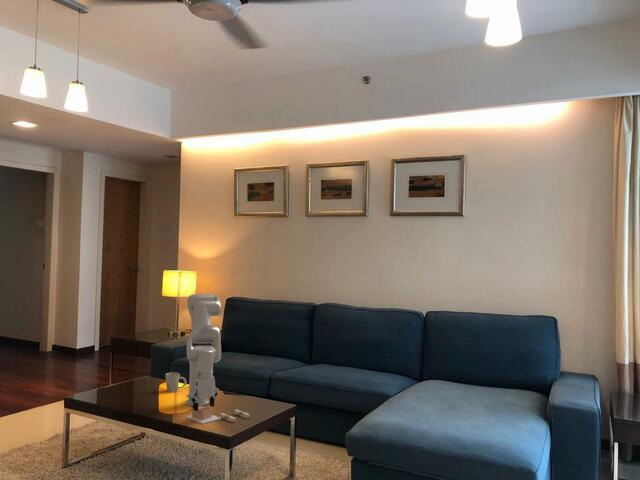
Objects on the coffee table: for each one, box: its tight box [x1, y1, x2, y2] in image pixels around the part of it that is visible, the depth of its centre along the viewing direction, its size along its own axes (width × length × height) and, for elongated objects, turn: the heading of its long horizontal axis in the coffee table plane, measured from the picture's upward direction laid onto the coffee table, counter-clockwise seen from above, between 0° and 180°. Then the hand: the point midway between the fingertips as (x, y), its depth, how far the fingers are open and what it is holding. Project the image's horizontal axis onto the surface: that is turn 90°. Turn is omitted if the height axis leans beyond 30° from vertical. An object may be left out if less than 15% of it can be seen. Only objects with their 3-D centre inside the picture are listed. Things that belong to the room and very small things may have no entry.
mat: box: [185, 414, 222, 425], centre depth 257 cm, size 14×11×1 cm
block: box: [191, 406, 213, 420], centre depth 258 cm, size 8×6×4 cm
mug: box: [164, 371, 187, 393], centre depth 308 cm, size 8×13×10 cm, turn 96°
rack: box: [218, 409, 251, 424], centre depth 260 cm, size 11×11×2 cm
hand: (203, 408), depth 258 cm, fingers open, 9 cm apart
